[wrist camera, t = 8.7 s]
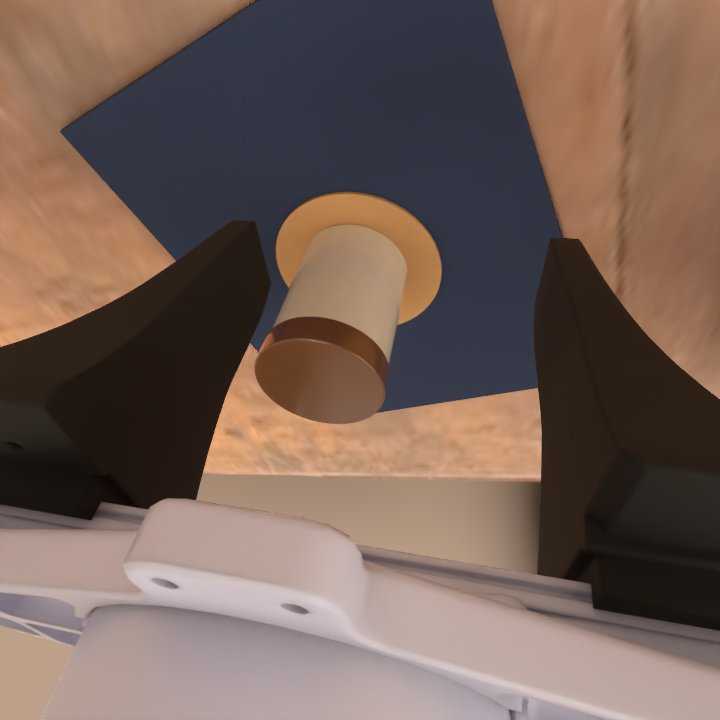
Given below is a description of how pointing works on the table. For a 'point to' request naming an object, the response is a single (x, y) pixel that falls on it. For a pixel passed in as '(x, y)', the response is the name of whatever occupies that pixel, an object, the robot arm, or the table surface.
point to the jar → (336, 327)
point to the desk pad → (353, 168)
